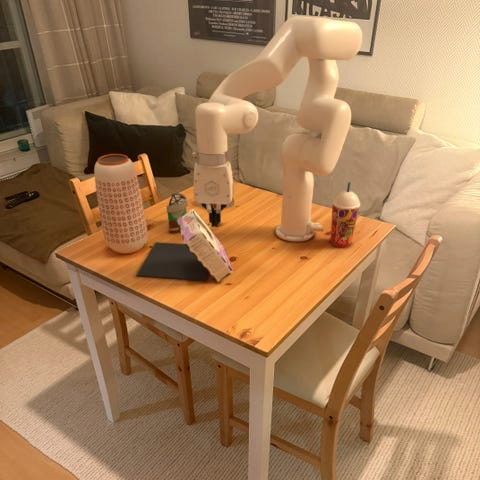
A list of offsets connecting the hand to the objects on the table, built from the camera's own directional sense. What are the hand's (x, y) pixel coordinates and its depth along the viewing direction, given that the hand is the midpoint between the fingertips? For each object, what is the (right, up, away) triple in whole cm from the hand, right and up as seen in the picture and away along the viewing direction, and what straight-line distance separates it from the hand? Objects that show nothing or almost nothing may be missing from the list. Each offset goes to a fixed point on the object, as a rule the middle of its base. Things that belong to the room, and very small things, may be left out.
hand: (215, 224), depth 125 cm
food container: (-14, +6, +31) cm, 35 cm away
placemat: (-12, -8, +12) cm, 19 cm away
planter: (-29, -3, +19) cm, 35 cm away
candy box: (+1, -10, +7) cm, 13 cm away
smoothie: (+39, -2, +21) cm, 45 cm away
